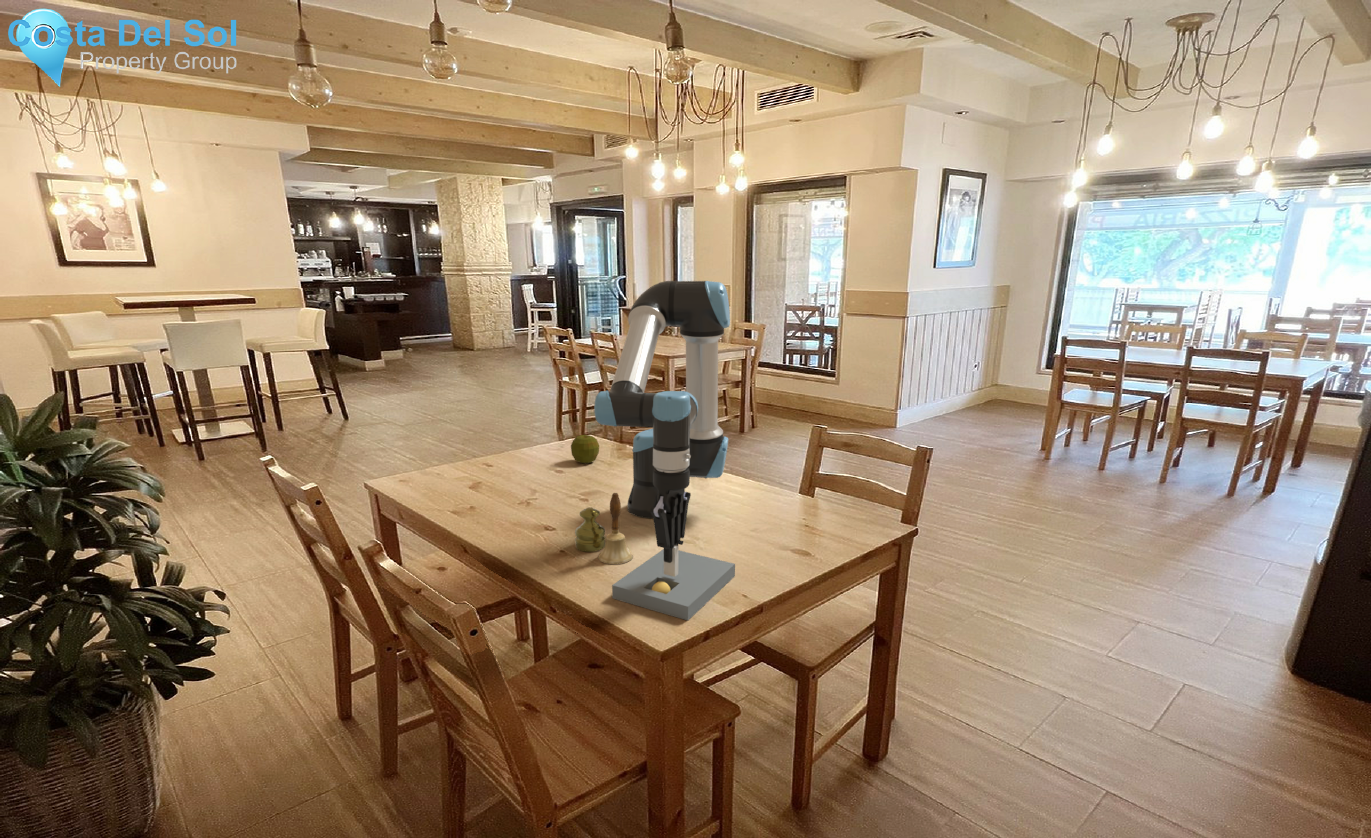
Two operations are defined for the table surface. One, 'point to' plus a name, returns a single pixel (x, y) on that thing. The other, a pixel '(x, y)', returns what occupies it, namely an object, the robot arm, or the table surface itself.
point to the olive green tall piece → (590, 532)
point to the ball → (661, 587)
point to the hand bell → (615, 538)
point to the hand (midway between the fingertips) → (671, 573)
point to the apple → (585, 448)
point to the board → (675, 584)
